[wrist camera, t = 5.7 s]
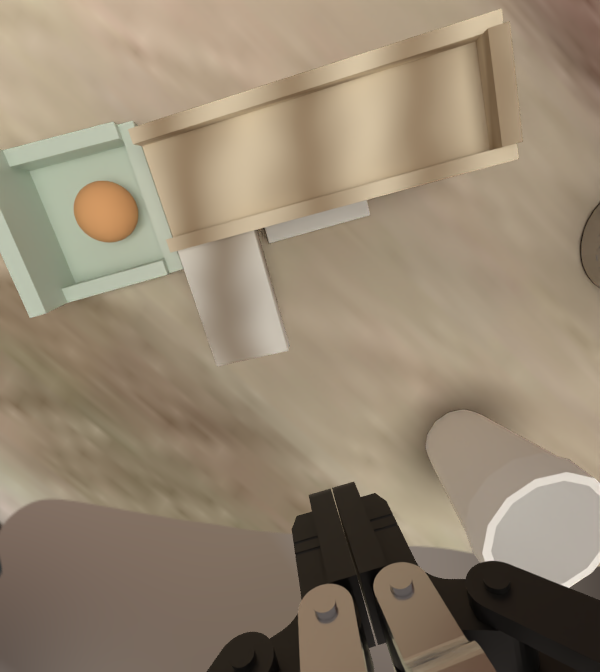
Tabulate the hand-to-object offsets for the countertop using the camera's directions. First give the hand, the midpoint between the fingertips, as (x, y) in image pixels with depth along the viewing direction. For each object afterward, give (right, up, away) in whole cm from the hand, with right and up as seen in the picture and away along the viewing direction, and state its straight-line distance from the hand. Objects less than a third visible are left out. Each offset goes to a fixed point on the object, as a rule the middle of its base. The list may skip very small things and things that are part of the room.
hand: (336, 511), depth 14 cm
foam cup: (+14, -4, +28) cm, 31 cm away
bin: (-15, +14, +19) cm, 28 cm away
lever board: (+1, +14, +15) cm, 21 cm away
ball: (-14, +14, +16) cm, 26 cm away
